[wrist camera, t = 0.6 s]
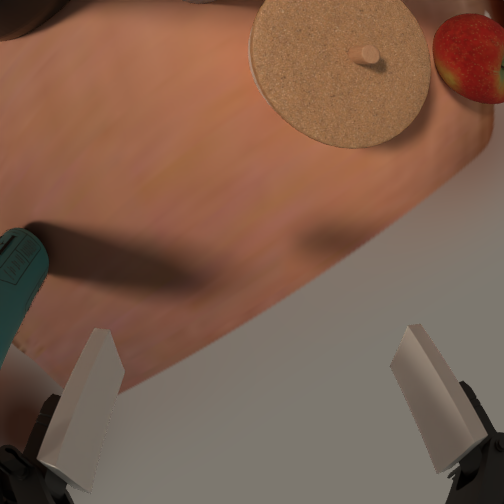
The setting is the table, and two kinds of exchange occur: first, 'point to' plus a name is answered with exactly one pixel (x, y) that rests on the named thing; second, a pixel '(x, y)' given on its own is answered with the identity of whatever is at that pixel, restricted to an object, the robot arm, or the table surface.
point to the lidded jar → (341, 67)
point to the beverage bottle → (18, 280)
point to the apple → (471, 57)
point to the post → (199, 1)
